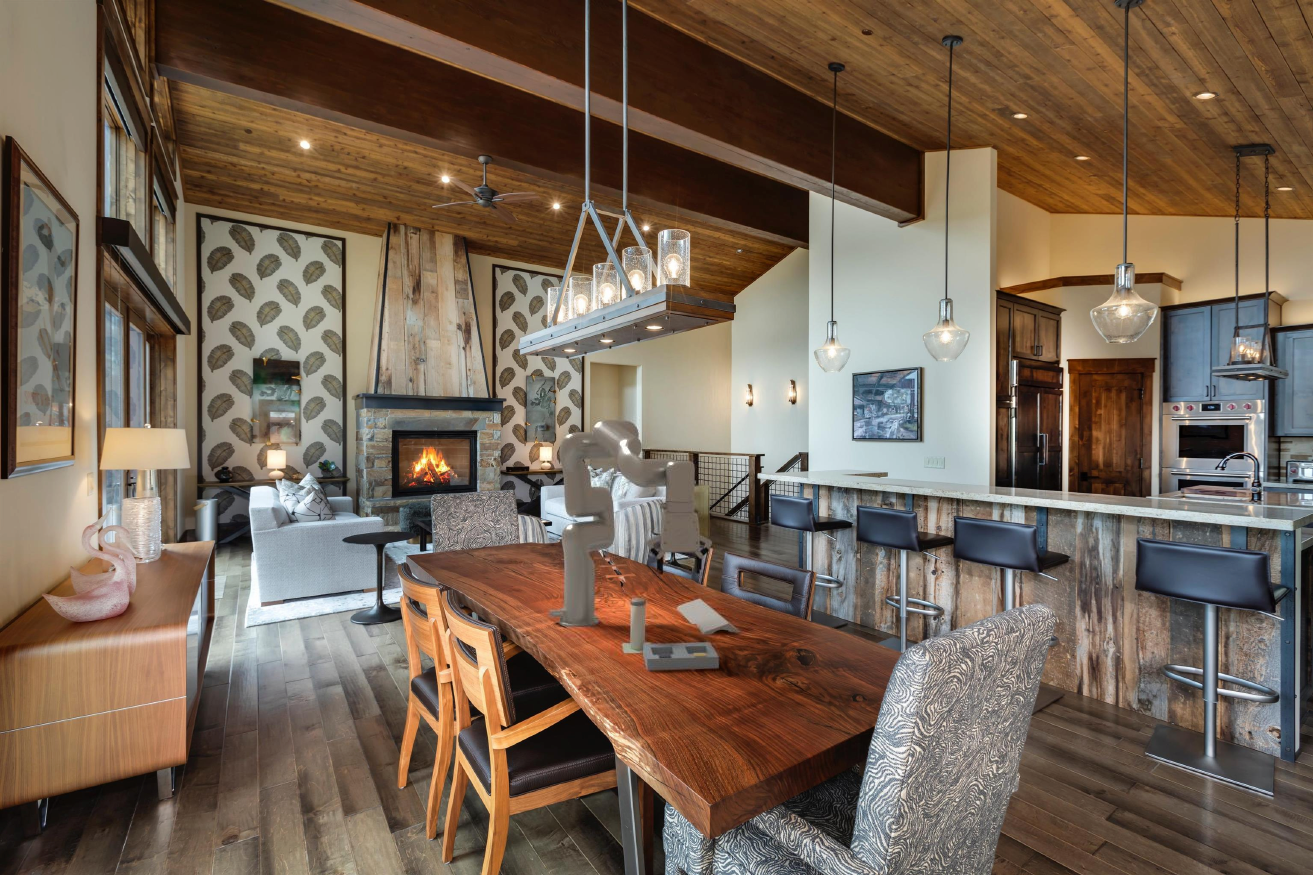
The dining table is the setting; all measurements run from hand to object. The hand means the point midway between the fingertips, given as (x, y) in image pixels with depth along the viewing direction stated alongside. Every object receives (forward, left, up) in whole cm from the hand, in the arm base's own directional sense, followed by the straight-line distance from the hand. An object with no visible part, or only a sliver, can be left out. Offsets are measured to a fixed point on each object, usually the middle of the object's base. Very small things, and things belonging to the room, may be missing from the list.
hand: (679, 572), depth 164 cm
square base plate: (-10, +8, -23) cm, 27 cm away
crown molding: (+15, +36, -24) cm, 46 cm away
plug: (-10, +8, -22) cm, 26 cm away
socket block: (0, -3, -23) cm, 23 cm away
